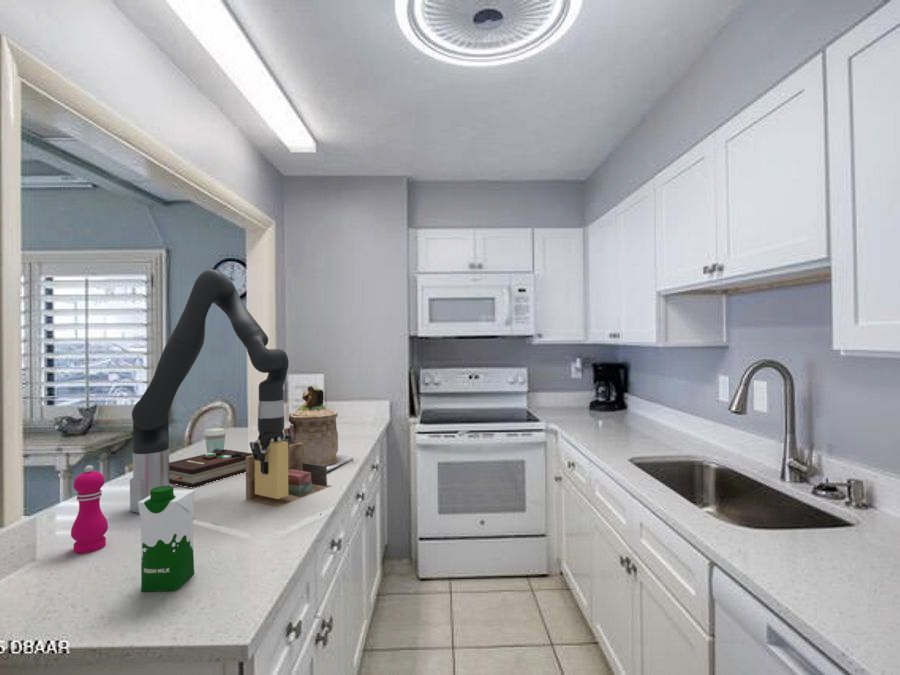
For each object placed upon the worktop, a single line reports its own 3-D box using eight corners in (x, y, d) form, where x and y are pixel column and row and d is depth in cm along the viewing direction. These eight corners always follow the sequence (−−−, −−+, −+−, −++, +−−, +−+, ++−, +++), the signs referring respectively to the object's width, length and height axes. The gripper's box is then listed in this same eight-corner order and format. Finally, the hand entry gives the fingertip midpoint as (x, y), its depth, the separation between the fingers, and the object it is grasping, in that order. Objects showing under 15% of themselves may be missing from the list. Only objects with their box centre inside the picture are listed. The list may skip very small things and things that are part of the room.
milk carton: (133, 594, 94) (132, 492, 94) (159, 572, 103) (158, 479, 104) (179, 593, 95) (177, 491, 95) (201, 571, 104) (200, 478, 104)
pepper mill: (103, 539, 121) (102, 460, 122) (112, 546, 117) (111, 464, 117) (67, 549, 116) (66, 466, 116) (75, 557, 111) (74, 471, 111)
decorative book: (153, 463, 169) (228, 445, 196) (153, 484, 169) (228, 464, 196) (187, 469, 160) (261, 450, 187) (188, 492, 160) (261, 469, 187)
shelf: (278, 511, 139) (277, 461, 139) (246, 504, 146) (245, 456, 146) (331, 490, 158) (331, 446, 158) (300, 484, 165) (300, 442, 165)
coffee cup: (204, 456, 208) (204, 428, 208) (226, 454, 212) (226, 426, 212) (203, 460, 200) (203, 432, 200) (226, 458, 204) (226, 430, 204)
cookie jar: (355, 459, 200) (354, 382, 200) (324, 475, 176) (323, 388, 176) (303, 456, 206) (302, 381, 206) (266, 471, 182) (265, 387, 183)
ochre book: (277, 499, 141) (277, 444, 141) (254, 493, 146) (254, 441, 146) (288, 495, 144) (288, 441, 144) (265, 490, 149) (265, 438, 149)
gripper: (281, 411, 153) (281, 465, 153) (242, 417, 141) (242, 476, 141) (298, 412, 149) (298, 468, 149) (259, 419, 137) (260, 479, 137)
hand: (271, 471), depth 145 cm, fingers closed on ochre book, 4 cm apart
